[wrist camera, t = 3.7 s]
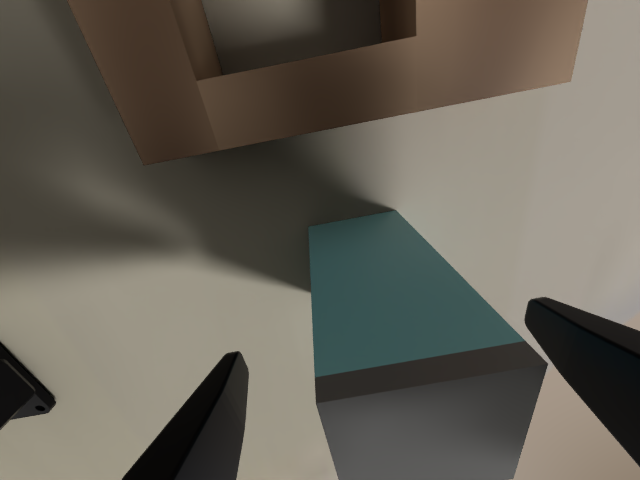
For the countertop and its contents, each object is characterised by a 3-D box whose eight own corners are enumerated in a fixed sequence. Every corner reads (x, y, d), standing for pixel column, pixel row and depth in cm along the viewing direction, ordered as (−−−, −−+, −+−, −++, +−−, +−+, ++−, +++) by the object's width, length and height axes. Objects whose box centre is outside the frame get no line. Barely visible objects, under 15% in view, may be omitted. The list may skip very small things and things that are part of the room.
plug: (323, 296, 13) (346, 505, 6) (308, 226, 12) (315, 403, 4) (399, 282, 13) (513, 478, 6) (396, 210, 12) (548, 364, 4)
